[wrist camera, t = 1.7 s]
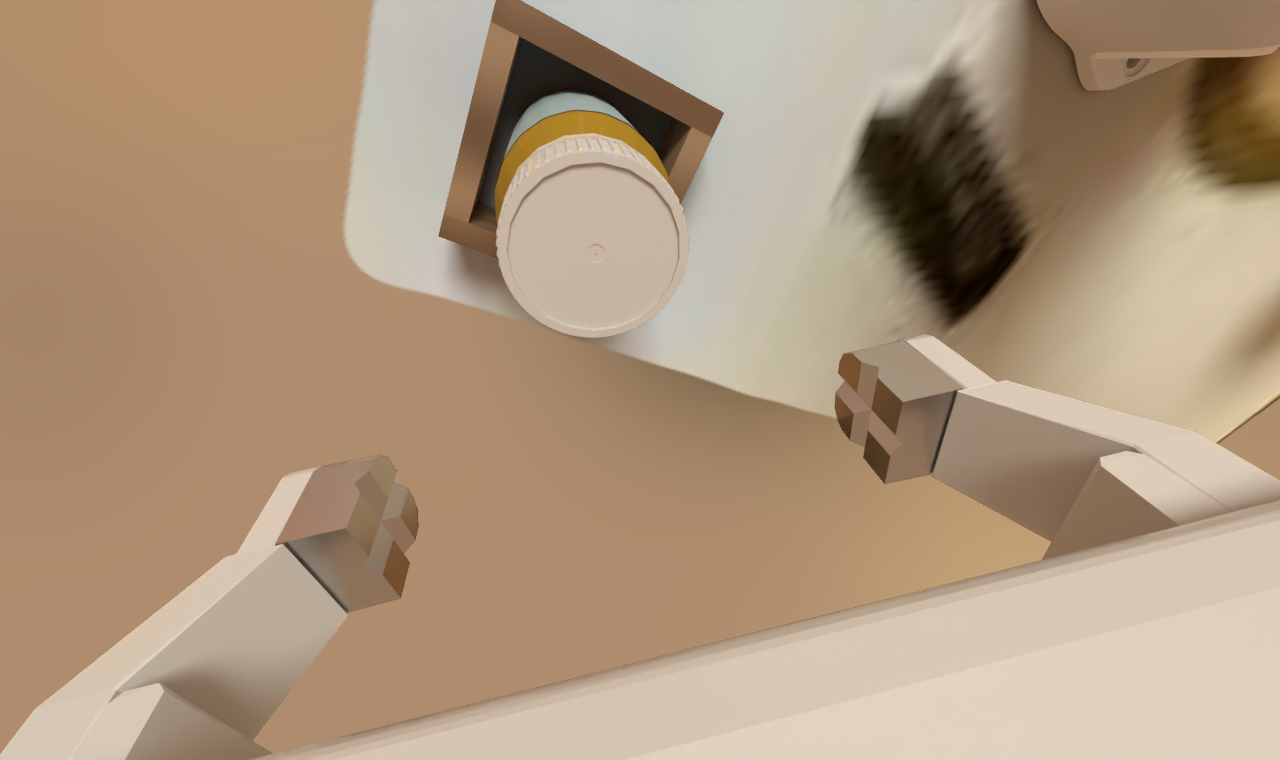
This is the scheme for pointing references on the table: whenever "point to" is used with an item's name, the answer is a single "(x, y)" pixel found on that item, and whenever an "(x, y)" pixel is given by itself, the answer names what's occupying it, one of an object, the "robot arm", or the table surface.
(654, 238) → the bottle
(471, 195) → the pocket
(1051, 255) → the table surface
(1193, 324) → the table surface
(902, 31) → the table surface
